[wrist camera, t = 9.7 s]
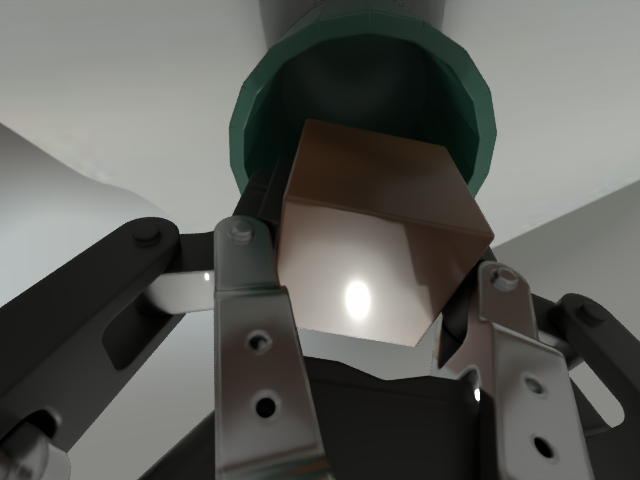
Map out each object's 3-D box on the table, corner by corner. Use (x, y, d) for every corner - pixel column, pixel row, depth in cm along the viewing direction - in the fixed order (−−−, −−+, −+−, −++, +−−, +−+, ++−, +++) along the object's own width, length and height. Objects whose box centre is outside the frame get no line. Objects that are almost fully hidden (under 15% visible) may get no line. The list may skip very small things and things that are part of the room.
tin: (243, 91, 21) (180, 163, 13) (363, -60, 16) (380, -93, 8) (346, 189, 26) (346, 288, 18) (466, 96, 20) (542, 176, 12)
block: (289, 228, 13) (267, 324, 9) (306, 116, 10) (282, 195, 6) (397, 248, 13) (416, 348, 10) (446, 145, 10) (497, 236, 7)
